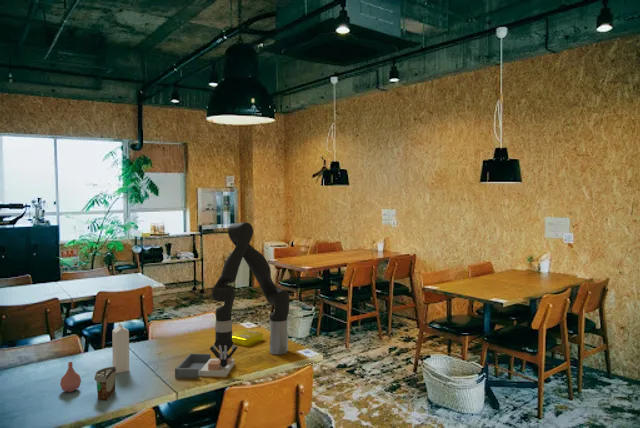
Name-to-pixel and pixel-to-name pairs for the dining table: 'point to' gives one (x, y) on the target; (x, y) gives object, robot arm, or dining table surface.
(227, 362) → the tile inner
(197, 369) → the tray
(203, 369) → the board
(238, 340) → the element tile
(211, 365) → the tile outer
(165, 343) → the dining table surface
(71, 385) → the pink bulb-shaped piece
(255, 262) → the robot arm
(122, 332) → the milk
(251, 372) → the dining table surface
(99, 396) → the food container
